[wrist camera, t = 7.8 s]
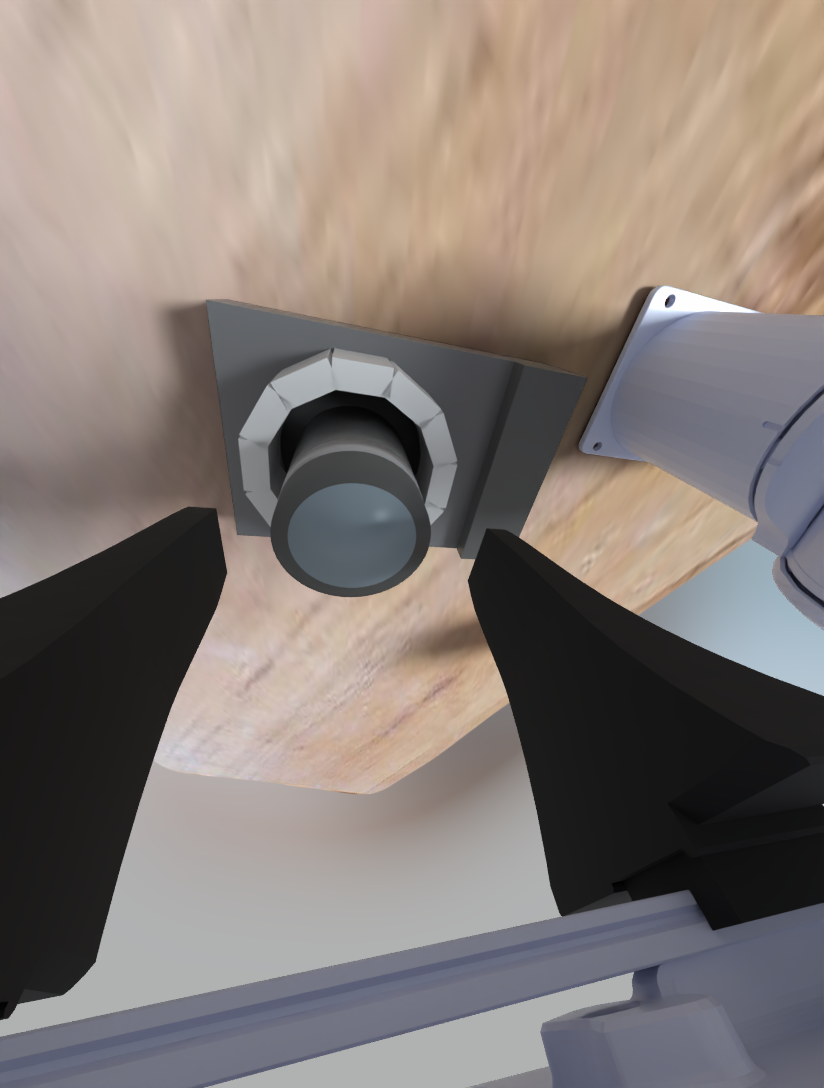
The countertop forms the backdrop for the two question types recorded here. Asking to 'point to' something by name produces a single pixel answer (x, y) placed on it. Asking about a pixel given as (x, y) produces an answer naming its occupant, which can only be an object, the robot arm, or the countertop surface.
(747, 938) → the robot arm
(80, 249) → the countertop surface
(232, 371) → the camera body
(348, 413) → the lens
